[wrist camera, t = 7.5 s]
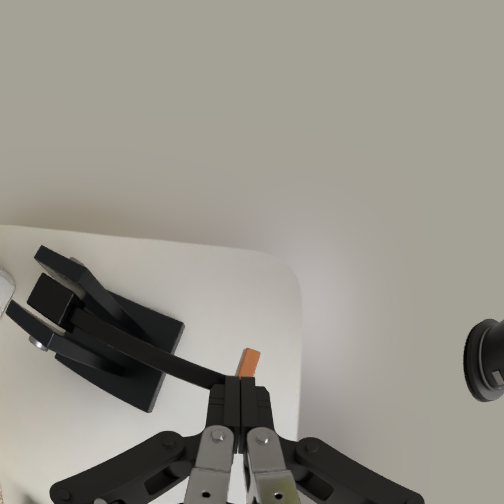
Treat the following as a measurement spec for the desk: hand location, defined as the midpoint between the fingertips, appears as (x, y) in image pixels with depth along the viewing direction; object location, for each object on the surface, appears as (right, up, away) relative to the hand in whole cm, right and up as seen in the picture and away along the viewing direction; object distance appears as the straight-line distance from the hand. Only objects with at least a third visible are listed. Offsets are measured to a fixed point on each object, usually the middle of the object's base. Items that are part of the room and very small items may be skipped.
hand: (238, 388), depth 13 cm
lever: (-6, +1, +1) cm, 7 cm away
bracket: (-12, -2, +9) cm, 15 cm away
